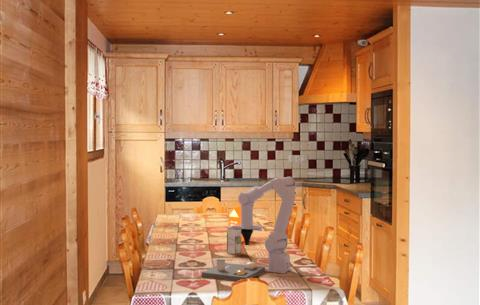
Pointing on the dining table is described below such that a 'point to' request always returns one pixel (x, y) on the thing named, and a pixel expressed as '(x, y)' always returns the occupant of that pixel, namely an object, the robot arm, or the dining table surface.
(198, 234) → the dining table surface
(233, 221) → the orange juice
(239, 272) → the brass button
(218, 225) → the dining table surface
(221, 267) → the pale green slider knob
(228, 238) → the syrup box
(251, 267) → the white button
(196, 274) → the dining table surface
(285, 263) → the robot arm
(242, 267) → the control panel
